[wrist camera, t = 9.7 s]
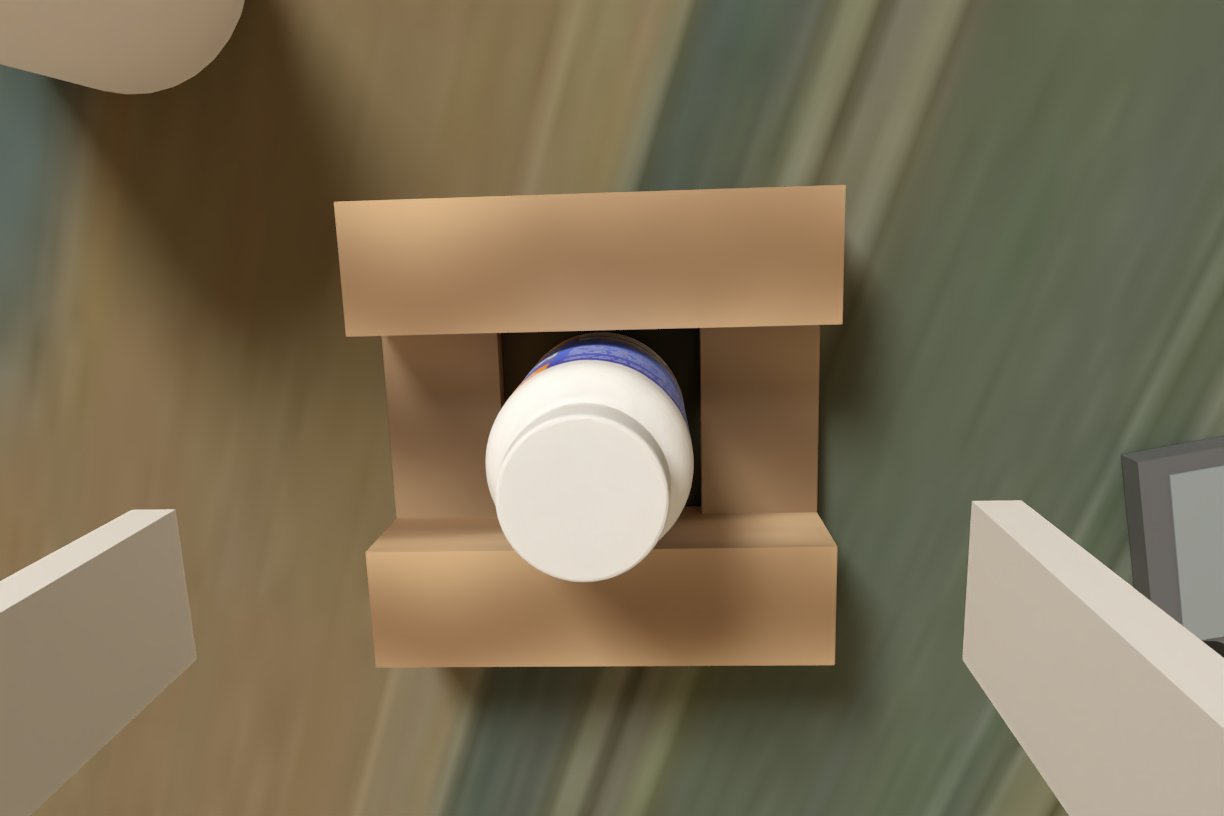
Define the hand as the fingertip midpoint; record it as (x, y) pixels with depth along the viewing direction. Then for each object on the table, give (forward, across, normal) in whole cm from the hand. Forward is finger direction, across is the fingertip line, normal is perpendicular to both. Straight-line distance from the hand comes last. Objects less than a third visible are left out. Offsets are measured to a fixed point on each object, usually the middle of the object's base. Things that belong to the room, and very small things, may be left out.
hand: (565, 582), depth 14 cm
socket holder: (+15, 0, 0) cm, 15 cm away
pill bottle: (+15, 0, 0) cm, 15 cm away
